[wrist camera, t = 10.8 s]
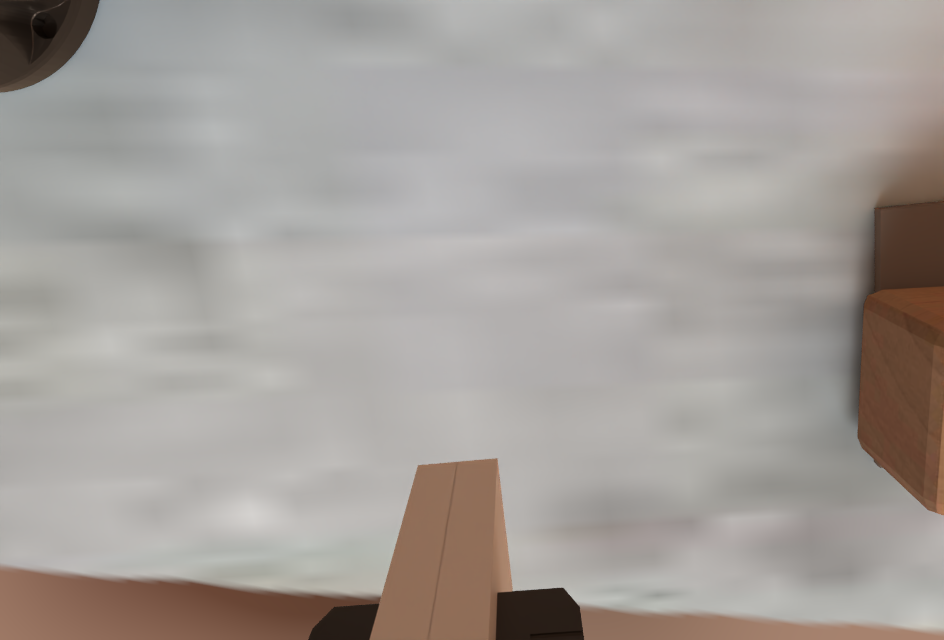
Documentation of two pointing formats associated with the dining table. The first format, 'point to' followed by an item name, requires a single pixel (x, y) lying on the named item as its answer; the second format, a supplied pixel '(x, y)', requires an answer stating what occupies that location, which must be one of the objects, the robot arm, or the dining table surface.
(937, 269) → the mat
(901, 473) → the wooden block
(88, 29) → the robot arm
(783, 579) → the dining table surface
